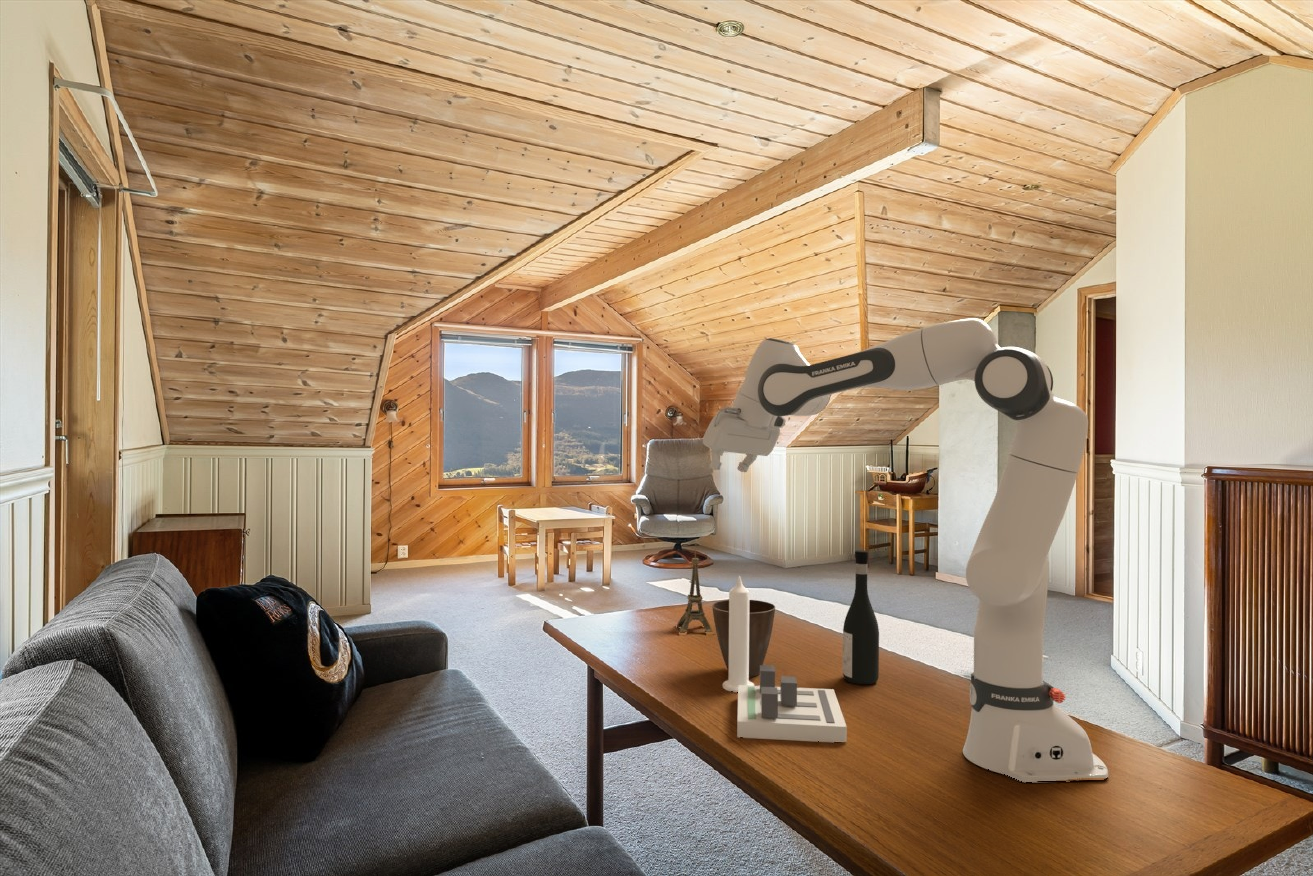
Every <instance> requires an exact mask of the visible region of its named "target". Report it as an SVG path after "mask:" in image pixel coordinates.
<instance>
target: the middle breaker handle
mask: <svg viewBox="0 0 1313 876" xmlns="http://www.w3.org/2000/svg"><path fill="white" fill-rule="evenodd" d="M779 687H780V699H781V705H792V706H797V688H798V682H797V677H796V676H782V675H781V676H780V686H779Z"/></svg>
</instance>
